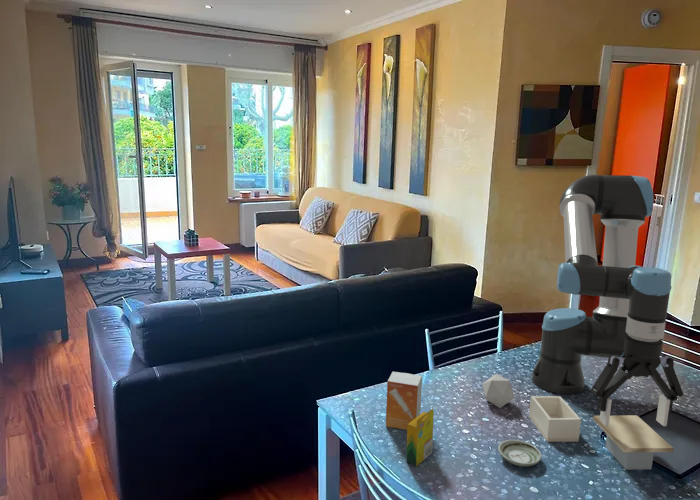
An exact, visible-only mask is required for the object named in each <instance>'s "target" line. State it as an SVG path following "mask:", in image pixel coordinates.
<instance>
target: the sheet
mask: <svg viewBox="0 0 700 500" xmlns="http://www.w3.org/2000/svg"><path fill="white" fill-rule="evenodd" d="M592 417H593V418H592V420H593V422H595V423H596V425H598V427H600V428H601V430H602V431H603V432H604V433H605V434H606V436H607V435H608V436H609V437H610V438H611V439H612V440H613V441H614V442H615V443H616V444H617V445H618V446H619V447H620V449H621V450H622V451H623V452H654V453H673V451H674V447H673V446H672V445H671V444H670V443H668V442H667V441H666V440H665V439H664V438H663V437H662V436H660V434H658V433H657V432H656V431H655V430H654V429H653V428H652V427H650V425H649V424H647V423H646V422H645V421H644V420H643V419H642V418H641V417H640V416H638V415H635V414H634V415H633V414H632V415H631V414H628V415H623V414H622V415H610V419H609V426H605V425H604V424H603V423H602V422H601V421H600V415H593V416H592Z"/></svg>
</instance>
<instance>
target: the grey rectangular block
mask: <svg viewBox="0 0 700 500" xmlns="http://www.w3.org/2000/svg"><path fill="white" fill-rule="evenodd" d="M604 447H605V448H606V450H608V452H609V453H610V454H611V455H612V457H614V458H615V460H616V461H617V462H618V463H619V464H620V466H622V467H623V469H624V470H631V471H632V470H652V467H653V461H654V453H655V452H623V451H622V450H621V449H620V447H619V446H618V445H617V444H616V443H615V442H614V441H613V440H612V439H611V438H610V437H609V436H608V435H607V434H606V439H605V446H604Z"/></svg>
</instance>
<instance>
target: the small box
mask: <svg viewBox="0 0 700 500" xmlns="http://www.w3.org/2000/svg"><path fill="white" fill-rule="evenodd" d="M422 386H423V375H420V374H412V373H407V372H399V371H392V372H391V374H390V376H389V378H388V379H387V386H386V387H387V388H386V407H385V411H386V412H385V427H387V428H392V429H393V428H394V429H399V430H403V431H407V424H409V423H410V422H411V421H413V420H414V419H415V418H416V417H418V416H419V415H420V414H421V408H422V407H421V406H422V390H423V389H422Z"/></svg>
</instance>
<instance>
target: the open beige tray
mask: <svg viewBox="0 0 700 500" xmlns="http://www.w3.org/2000/svg"><path fill="white" fill-rule="evenodd" d="M529 402H530V404H529V415H528V416H529V417H528V418H529V419H530V420H531V421H532V423H533V424H534V425H535V427H536V429H537V430H538V431H539V433H540V434H541V436H542V437H543V438H544V440H545V441H546V442H547V443H548V442H549V443H550V442H551V443H552V442H561V443H562V442H579V440H580V435H581V434H580V432H581V424H582V419H581V418H580V416H579V415H578V414H577V413H576V412H575V411H574V410H573V409H572V407H571V406H570V405H569V404H568V403H567V402H566V401H565V400H564V398H562V396H560V395H559V396H558V395H553V396H550V395H547V396H543V395H541V396H540V395H538V396H537V395H533V396H532V395H531V396H530V401H529Z"/></svg>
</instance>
